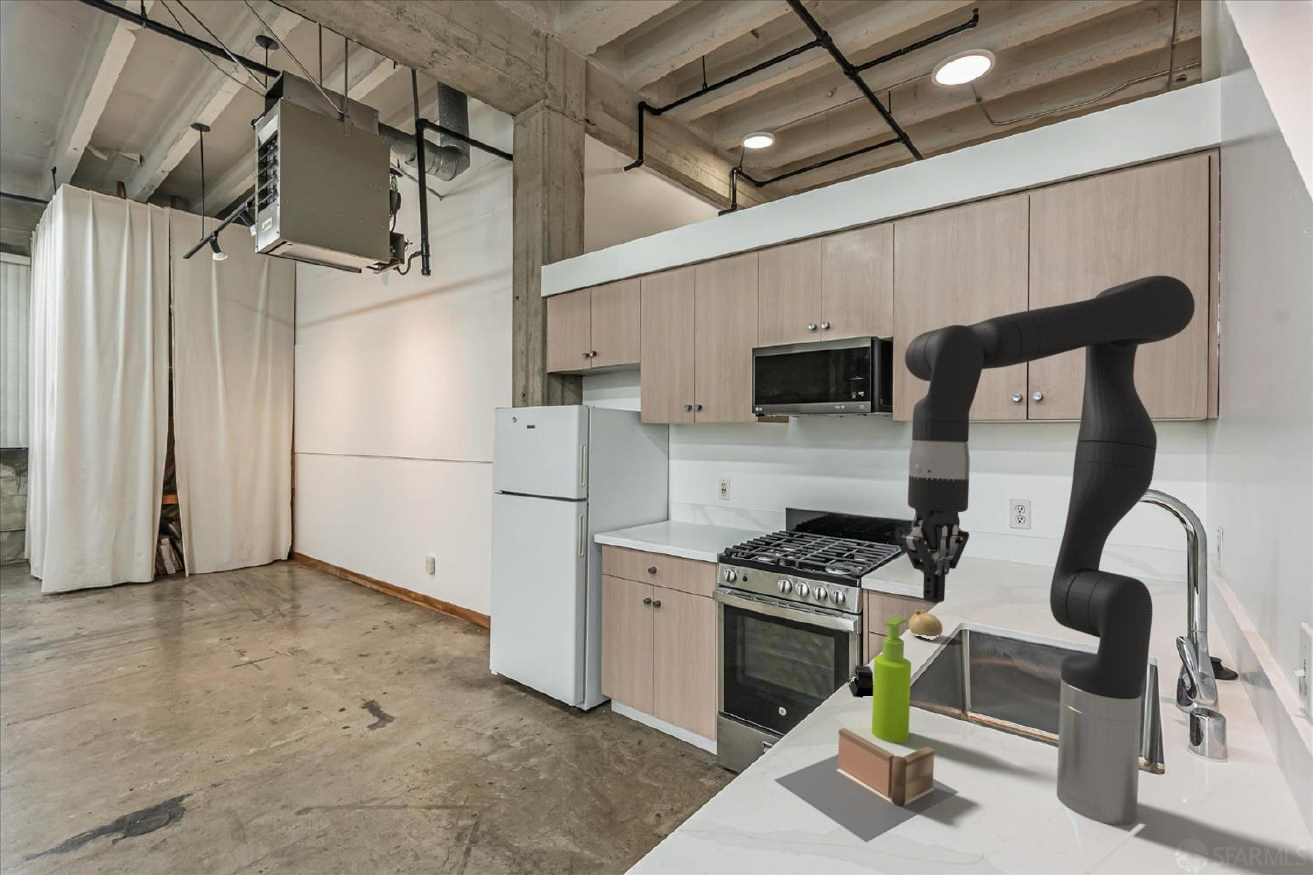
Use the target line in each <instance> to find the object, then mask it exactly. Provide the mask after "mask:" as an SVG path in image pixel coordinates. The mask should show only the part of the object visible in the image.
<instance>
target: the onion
mask: <svg viewBox="0 0 1313 875" xmlns="http://www.w3.org/2000/svg"><path fill="white" fill-rule="evenodd" d="M908 621H909V622H908V629H909V631H910V630H911V632H912V633H914V634H918V635H926V636H937V635H940V634H941V635H942V633H943V624H942V622H941V620H940V619H938V617H936V615H934V614H932V613H929V612H927V611H926V610H925V609H916V610H915V612H914V614H913V615H912V616H911V617H910V619H909V620H908ZM911 632H910V633H911ZM912 633H911V634H912ZM941 635H940V636H941Z"/></svg>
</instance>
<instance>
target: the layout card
mask: <svg viewBox="0 0 1313 875" xmlns="http://www.w3.org/2000/svg"><path fill="white" fill-rule="evenodd" d="M838 755H839V753H838V754H836V755H835V754H834V755H832V756H830V757H828V758H825V759H823V760H820V761H818V762H816V763H813V764H810V765H807V766H806V767H803V768H800V769H798V770H796V771H793V772H791V773H788V774H786V775H784V776H781V777H777V778H776V779H773V781H775V782H776V783H777V784H779V785H780V786H782V787H783V788H784V789H786V790H788V791H789V792H791V793H793V794H794V795H795V796H796V797H798V798H800V799H801V800H802V801H804V802H805V803H807V804H808V805H810V806H812V807H813V808H815V809H816V810H817V811H819V812H821V813H822V814H824V815H825V816H826V817H828V818H829V819H831V820H832V821H834V822H835V823H837V824H839V825H840V826H841V827H842V828H844V829H845V830H847V831H849V832H850V833H852V834H853V835H855V836H856V837H858V838H859V839H860V840H862V841H864V842H865V843H867V842H869V841H871V840H872V839H875V838H876V837H878V836H880V835H882V834H883V833H885V832H887V831H889V830H891V829H893V828H894V827H896V826H898V825H900V824H902V823H905V822H906V821H908V820H909V819H911V818H913V817H914V816H917V815H918V814H920V813H922V812H924V811H926V810H928V809H929V808H931V807H934V806H935V805H937V804H939V803H940V802H941V803H942V802H943V801H944V800H946V799H949V797H952V796H954V795H956V794H957V793H959V791H958V790H956V789H954V788H952V787H950V786H948V785H946V784H945V783H943V782H940V781H938V780H936V779H935V778H933V788H931V789H929V790H927V791H925V792H923V793H921V794H919V795H917V796H915V797H913V798H911V799H910V800H908V801H906V802H905V805H904V806H897V805H894V804H893V803H892V802H891V795H890V796H886V795H885V794H883V793H882V792H880V791H878V790H877V789H875V788H873V787H872V786H870V785H868V784H867V783H865V782H863V781H862V780H860V779H859V778H857V777H855V776H854V775H852V774H850V773H849V772H847V771H845V770H844V769H842V768H841V767H839V766H838Z"/></svg>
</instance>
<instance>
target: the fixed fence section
mask: <svg viewBox="0 0 1313 875" xmlns="http://www.w3.org/2000/svg"><path fill="white" fill-rule="evenodd" d="M935 754H936V749H934V748H932V747H929V746H925V747H922V748H920V749H918V750H916V751H914V752H911V753H909V754H906V755H905V756H899V755H894V757H893V762H892V790H891V802H892V803H893V804H894V805H897V806H904V805H905V802H906V801H908V800H910V799H911V798H913V797H915V796H917V795H919V794H921V793H923V792H925V791H927V790H929V789H931V788H933V779H934V765H935V764H934V763H935V762H934V761H935V760H934V759H935Z"/></svg>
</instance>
